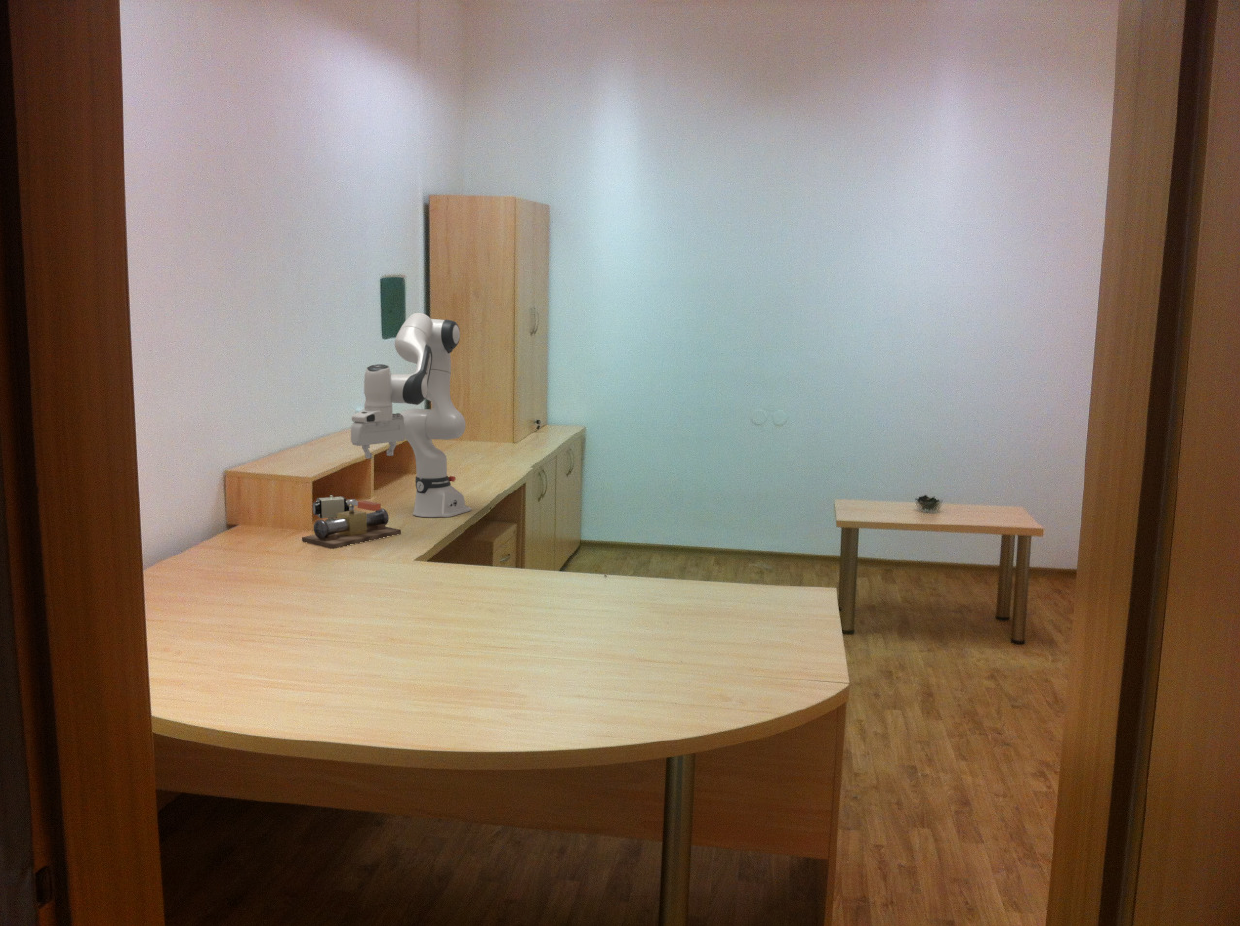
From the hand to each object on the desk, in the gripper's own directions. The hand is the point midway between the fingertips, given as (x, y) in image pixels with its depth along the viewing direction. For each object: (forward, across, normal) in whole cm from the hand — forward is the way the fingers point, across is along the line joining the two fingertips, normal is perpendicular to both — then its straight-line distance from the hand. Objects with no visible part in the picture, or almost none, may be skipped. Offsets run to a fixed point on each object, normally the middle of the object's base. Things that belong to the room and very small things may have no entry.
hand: (379, 457), depth 338 cm
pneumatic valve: (+28, +1, -25) cm, 37 cm away
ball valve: (+26, +5, -9) cm, 28 cm away
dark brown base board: (+28, +5, -9) cm, 29 cm away
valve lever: (+17, +5, -3) cm, 17 cm away
